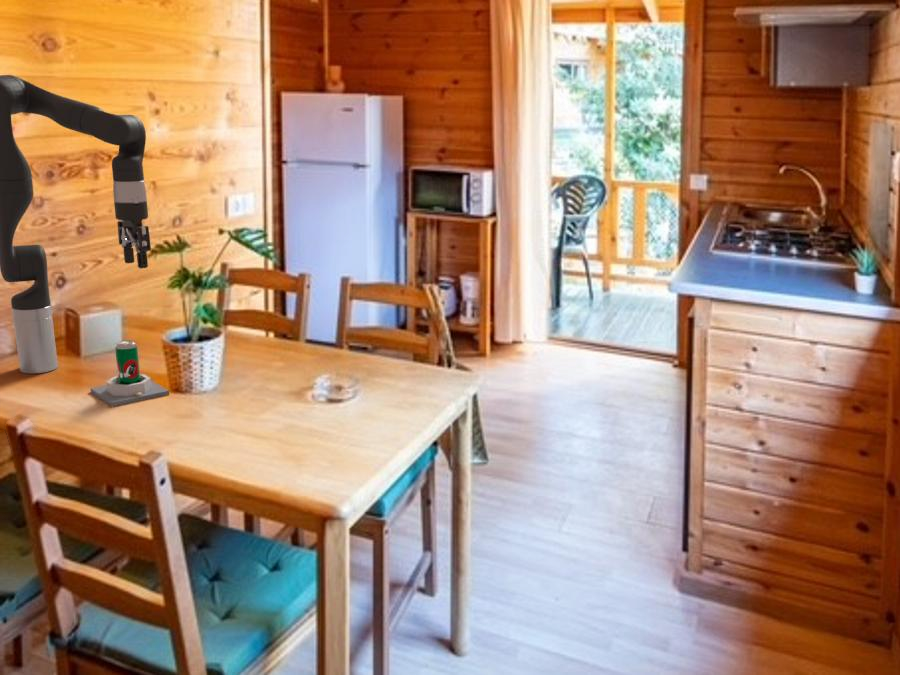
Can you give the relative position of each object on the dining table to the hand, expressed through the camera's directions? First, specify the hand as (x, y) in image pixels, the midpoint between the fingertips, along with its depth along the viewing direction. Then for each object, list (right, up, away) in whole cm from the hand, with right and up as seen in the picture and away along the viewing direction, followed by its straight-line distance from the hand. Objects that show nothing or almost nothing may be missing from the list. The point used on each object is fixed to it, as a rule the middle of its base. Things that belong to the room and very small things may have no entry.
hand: (136, 265), depth 212 cm
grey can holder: (-1, -32, -2) cm, 32 cm away
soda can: (-1, -31, -2) cm, 31 cm away
